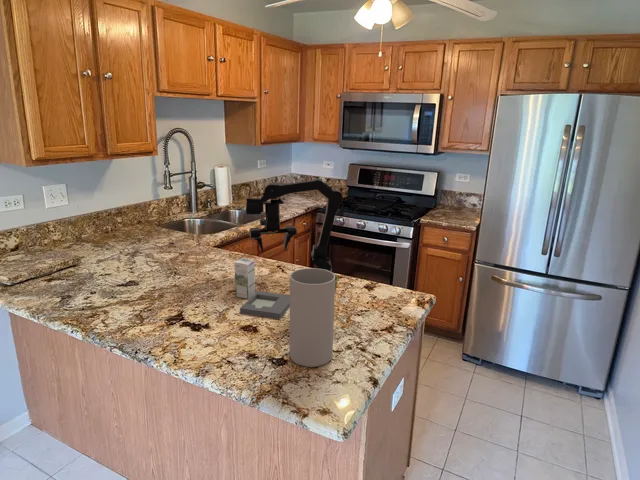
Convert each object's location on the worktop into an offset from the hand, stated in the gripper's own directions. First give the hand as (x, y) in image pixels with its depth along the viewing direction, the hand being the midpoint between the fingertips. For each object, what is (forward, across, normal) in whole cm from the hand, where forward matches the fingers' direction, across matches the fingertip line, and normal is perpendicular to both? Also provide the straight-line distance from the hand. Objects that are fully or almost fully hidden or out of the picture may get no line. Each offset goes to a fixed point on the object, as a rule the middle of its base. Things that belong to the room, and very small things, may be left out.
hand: (273, 251), depth 176 cm
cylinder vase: (+14, -1, +60) cm, 61 cm away
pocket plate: (+13, +6, +24) cm, 28 cm away
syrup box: (+13, +13, +12) cm, 22 cm away
